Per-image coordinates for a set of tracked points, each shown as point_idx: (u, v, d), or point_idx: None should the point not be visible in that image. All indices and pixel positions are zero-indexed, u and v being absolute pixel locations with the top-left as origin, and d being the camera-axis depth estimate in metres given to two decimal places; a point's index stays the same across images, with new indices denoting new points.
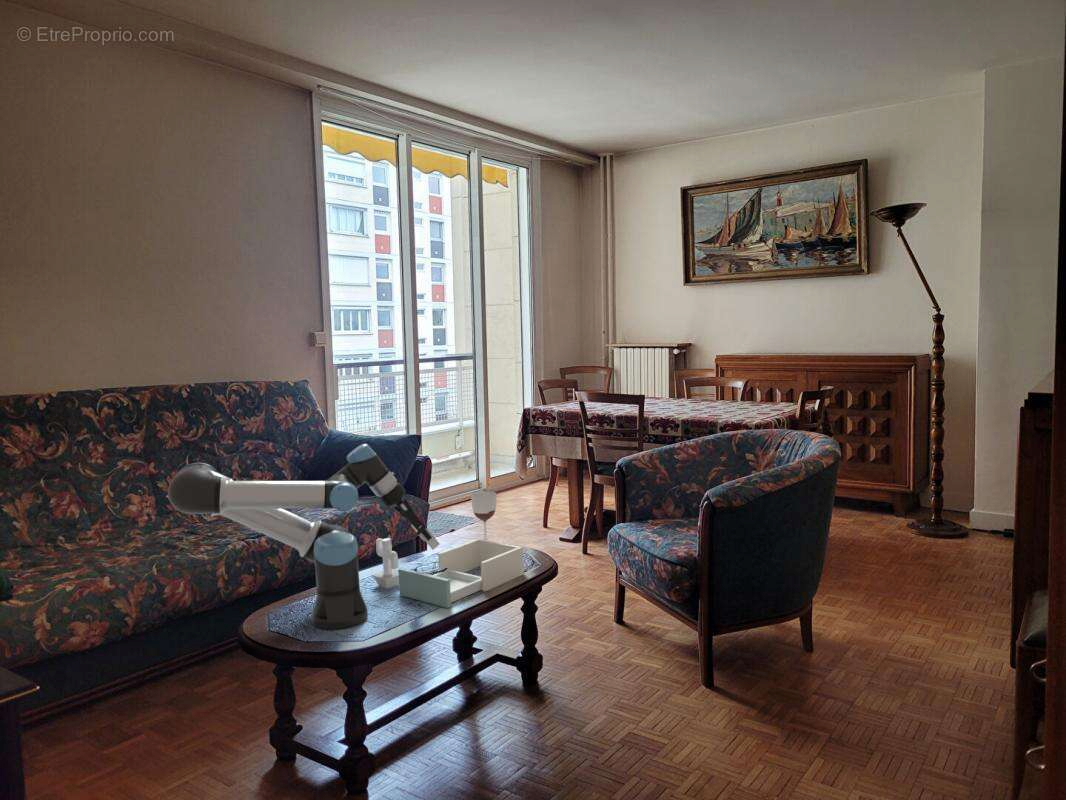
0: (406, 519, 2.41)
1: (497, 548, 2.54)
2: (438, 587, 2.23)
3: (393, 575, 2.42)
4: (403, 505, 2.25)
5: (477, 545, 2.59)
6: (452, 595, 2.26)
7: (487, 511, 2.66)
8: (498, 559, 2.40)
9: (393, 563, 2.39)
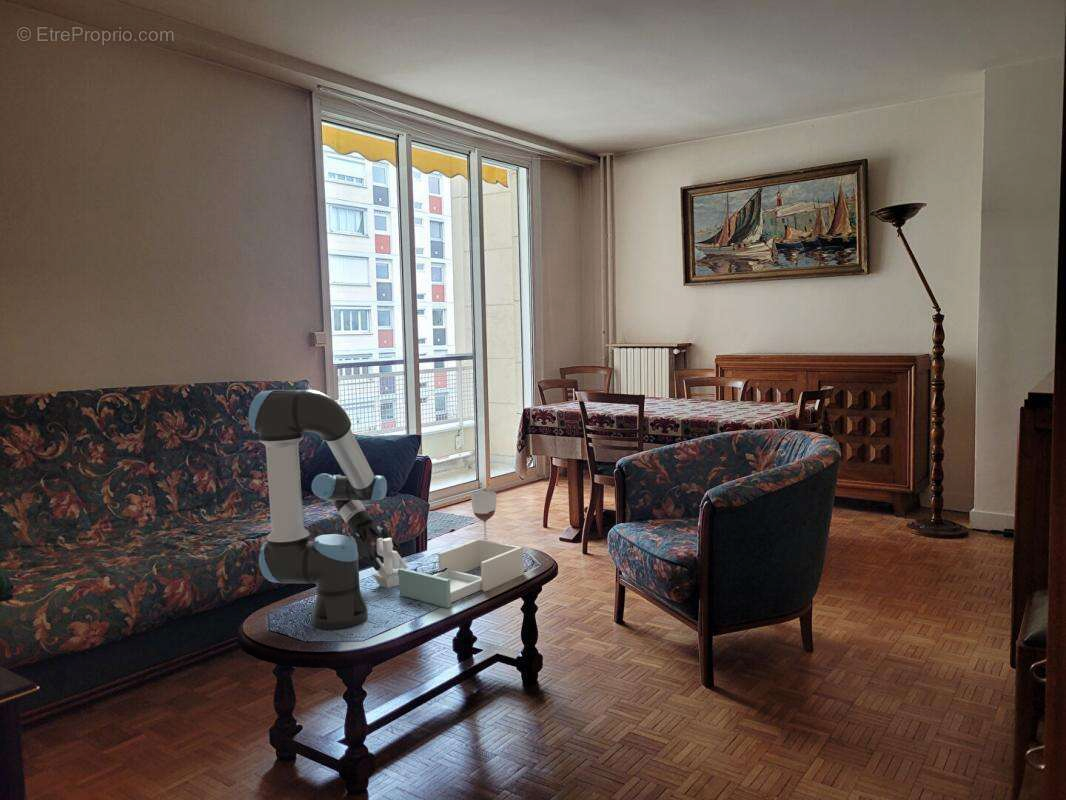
0: (368, 554, 2.38)
1: (497, 548, 2.54)
2: (438, 587, 2.23)
3: (394, 575, 2.42)
4: None
5: (477, 545, 2.59)
6: (452, 595, 2.26)
7: (487, 511, 2.66)
8: (498, 559, 2.40)
9: (394, 563, 2.39)
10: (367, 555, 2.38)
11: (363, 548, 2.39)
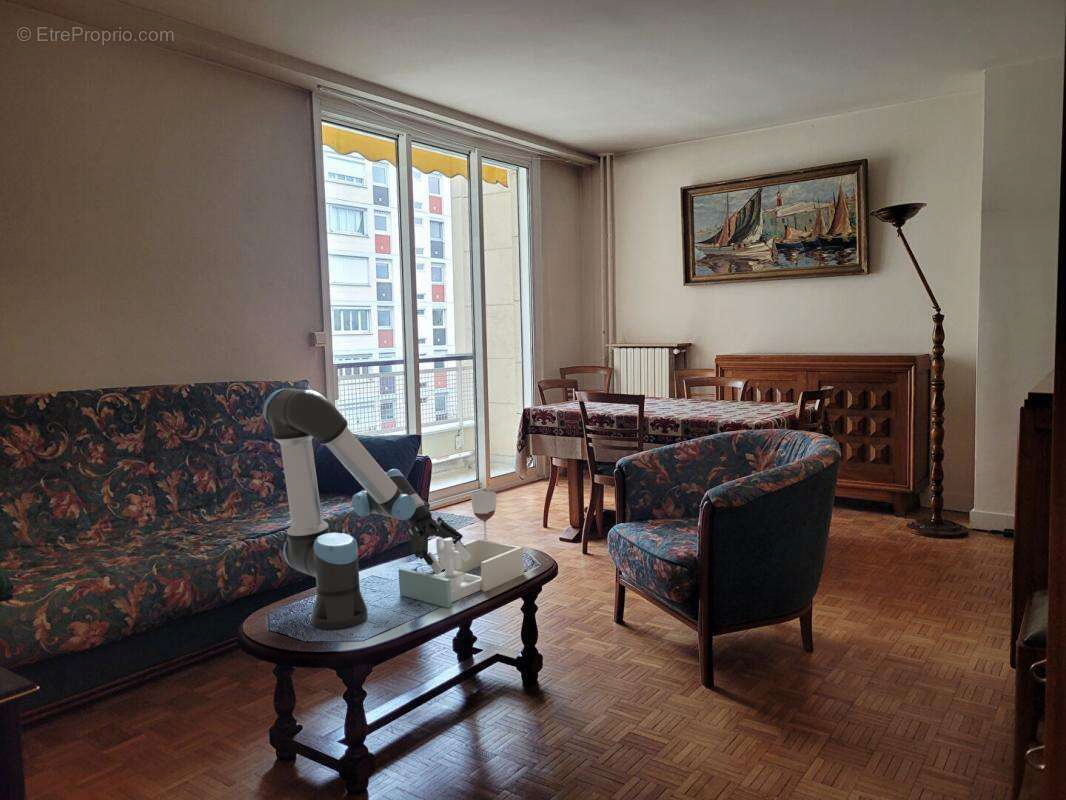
0: (422, 548, 2.30)
1: (497, 548, 2.54)
2: (438, 587, 2.23)
3: (456, 575, 2.35)
4: None
5: (477, 545, 2.59)
6: (453, 595, 2.26)
7: (487, 511, 2.66)
8: (498, 559, 2.40)
9: (457, 563, 2.33)
10: (420, 549, 2.29)
11: (418, 542, 2.31)
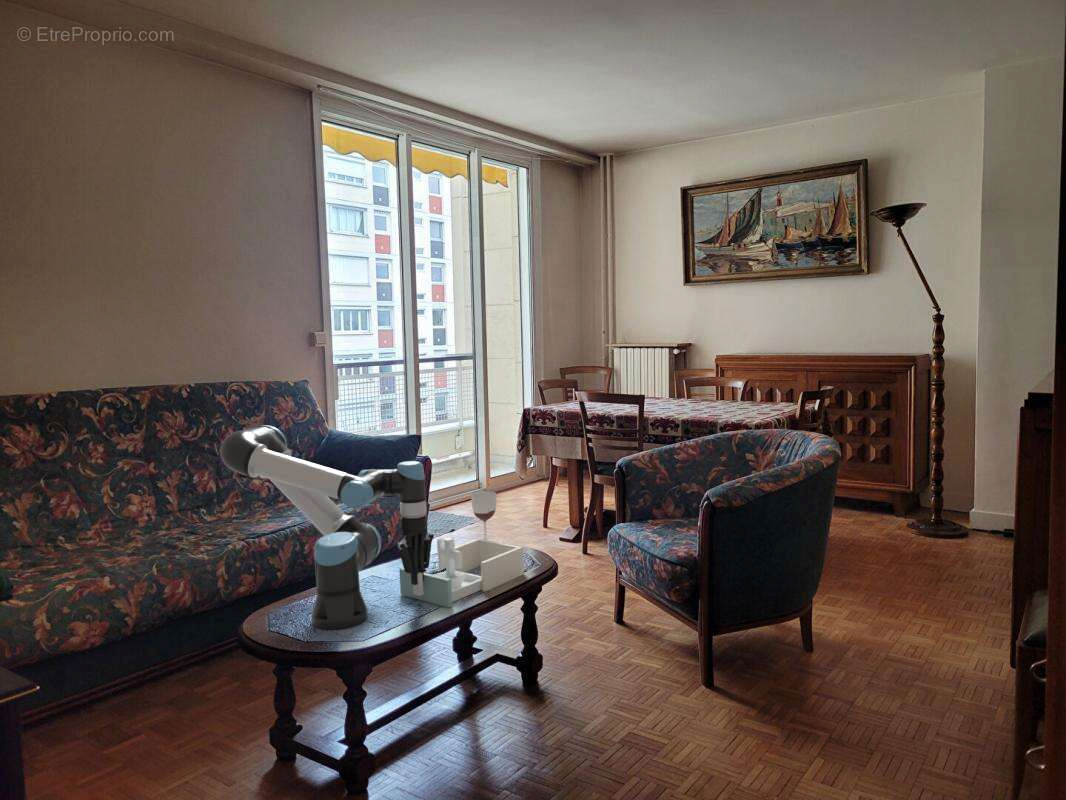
0: (412, 568, 2.22)
1: (497, 548, 2.54)
2: (439, 587, 2.23)
3: (456, 575, 2.36)
4: None
5: (477, 545, 2.59)
6: (453, 595, 2.26)
7: (487, 511, 2.66)
8: (498, 559, 2.40)
9: (458, 563, 2.33)
10: (411, 570, 2.22)
11: (409, 561, 2.21)
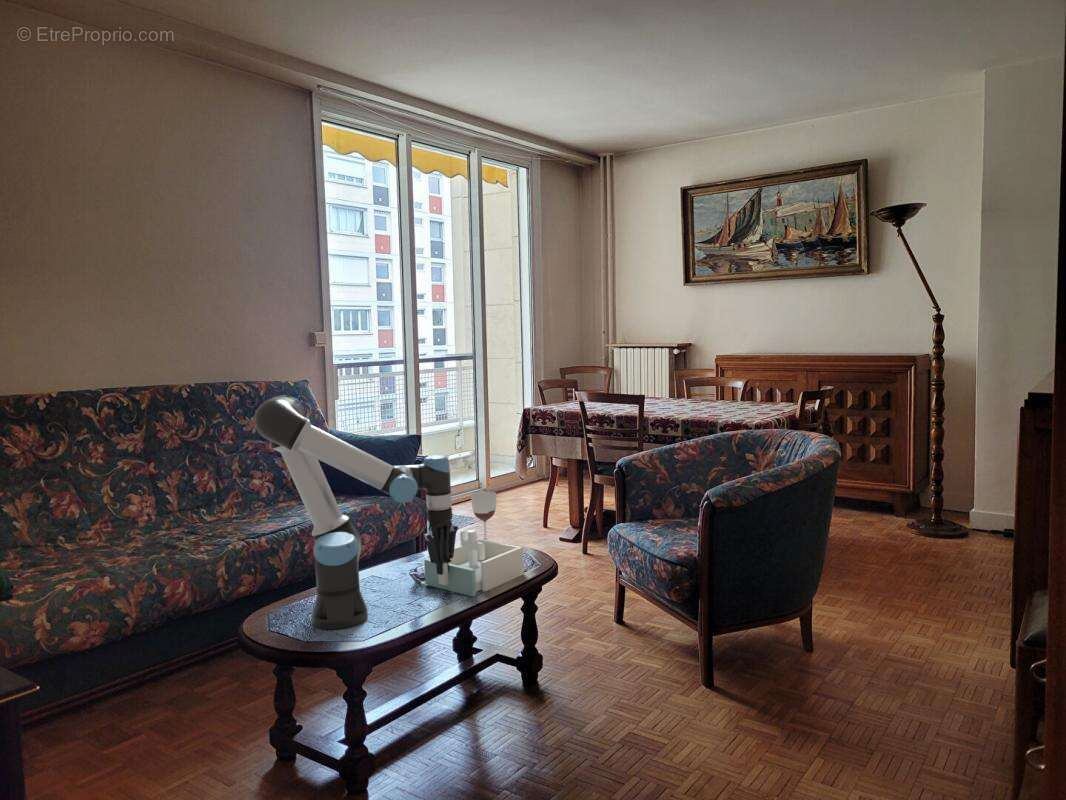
0: (438, 558, 2.30)
1: (497, 548, 2.54)
2: (464, 577, 2.32)
3: (479, 566, 2.44)
4: None
5: None
6: (477, 585, 2.35)
7: (487, 511, 2.66)
8: (498, 559, 2.40)
9: (481, 554, 2.41)
10: (437, 560, 2.30)
11: (435, 552, 2.29)
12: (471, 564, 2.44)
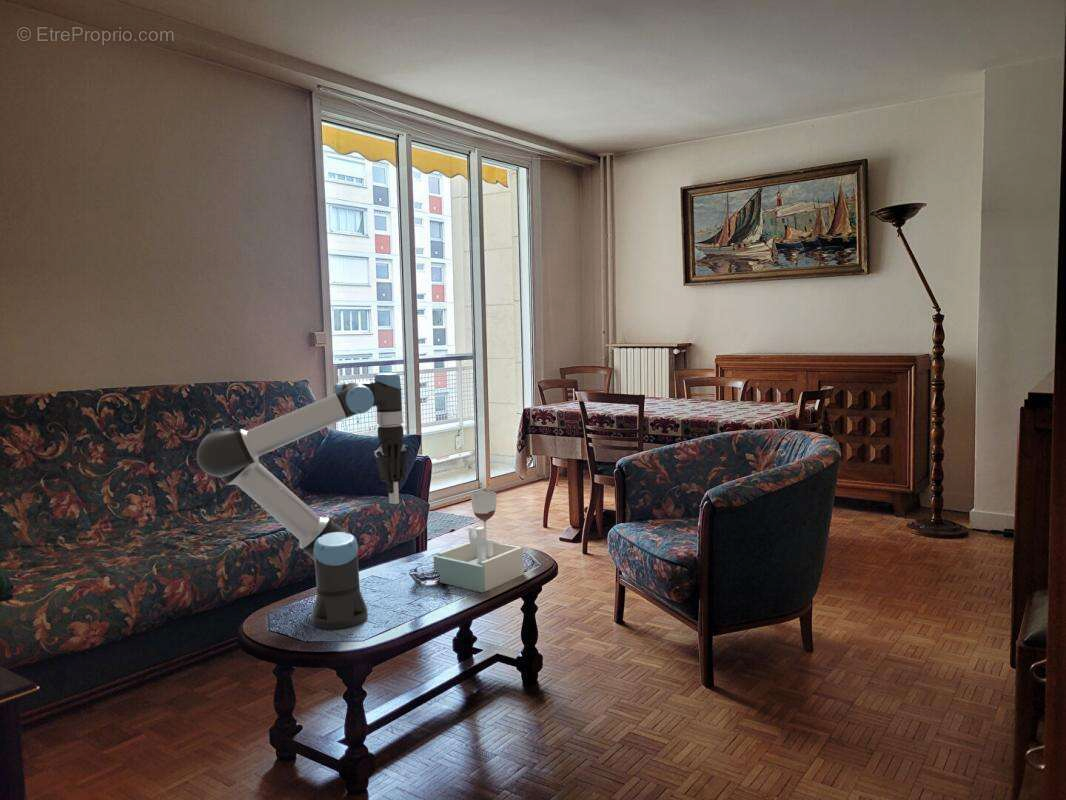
0: (388, 476, 2.28)
1: (497, 548, 2.54)
2: (473, 573, 2.35)
3: None
4: None
5: None
6: None
7: (487, 511, 2.66)
8: (498, 559, 2.40)
9: (489, 551, 2.45)
10: (387, 478, 2.28)
11: (385, 469, 2.27)
12: (480, 561, 2.47)
